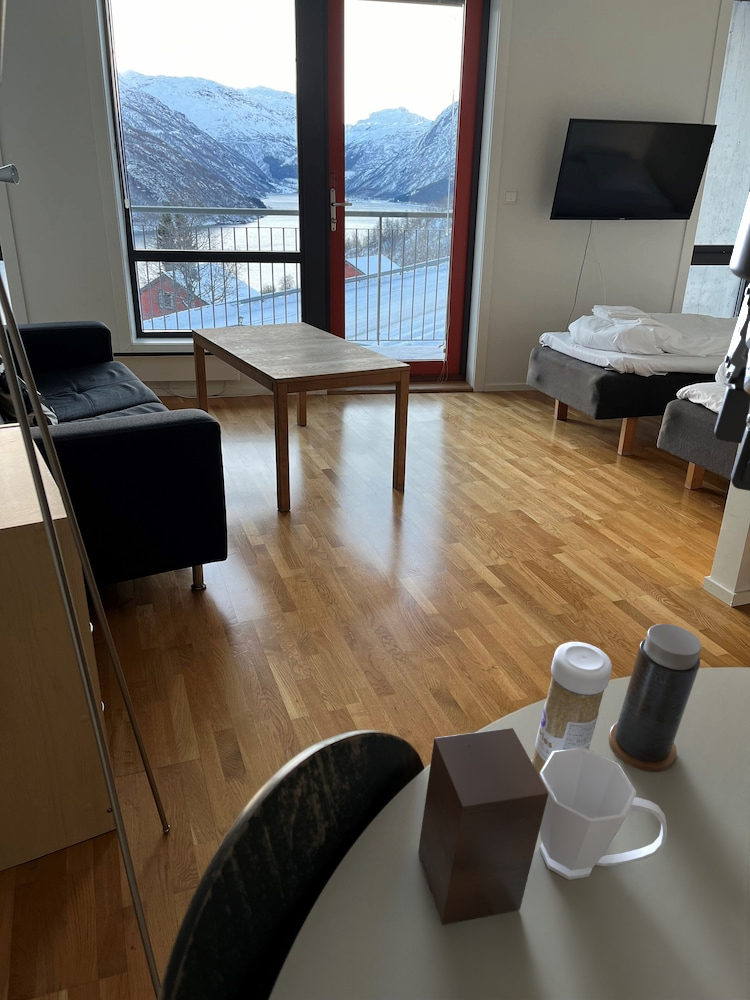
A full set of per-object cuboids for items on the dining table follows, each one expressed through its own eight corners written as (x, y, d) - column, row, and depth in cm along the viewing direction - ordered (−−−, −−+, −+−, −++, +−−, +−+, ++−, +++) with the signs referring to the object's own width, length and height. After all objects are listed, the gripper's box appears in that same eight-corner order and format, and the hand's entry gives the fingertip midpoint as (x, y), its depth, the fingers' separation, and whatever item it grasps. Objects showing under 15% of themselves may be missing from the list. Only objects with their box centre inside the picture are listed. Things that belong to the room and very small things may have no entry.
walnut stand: (489, 839, 59) (512, 727, 53) (520, 910, 54) (549, 793, 48) (417, 852, 57) (434, 737, 52) (442, 925, 52) (462, 807, 47)
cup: (523, 809, 62) (539, 738, 58) (646, 835, 60) (671, 763, 56) (521, 884, 55) (540, 810, 52) (659, 915, 54) (687, 840, 50)
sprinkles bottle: (520, 760, 66) (546, 640, 60) (568, 756, 67) (598, 638, 61) (538, 801, 62) (568, 677, 56) (588, 797, 63) (623, 674, 57)
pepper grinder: (650, 720, 71) (682, 619, 66) (681, 758, 67) (717, 654, 62) (604, 726, 70) (633, 624, 65) (632, 766, 66) (665, 660, 60)
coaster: (651, 720, 72) (653, 715, 72) (688, 766, 67) (690, 762, 67) (597, 727, 71) (598, 722, 71) (630, 776, 66) (631, 771, 65)
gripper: (951, 212, 34) (828, 521, 41) (861, 194, 46) (779, 435, 53) (775, 196, 35) (687, 496, 43) (733, 183, 48) (671, 418, 55)
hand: (738, 462), depth 48 cm, fingers open, 8 cm apart
